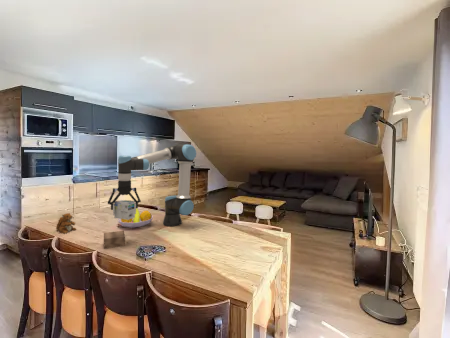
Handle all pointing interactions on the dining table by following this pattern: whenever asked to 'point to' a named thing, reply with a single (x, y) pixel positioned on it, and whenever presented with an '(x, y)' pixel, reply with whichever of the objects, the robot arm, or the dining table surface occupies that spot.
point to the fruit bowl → (137, 220)
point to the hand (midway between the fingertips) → (124, 214)
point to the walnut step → (114, 239)
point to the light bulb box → (124, 209)
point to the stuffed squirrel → (65, 224)
